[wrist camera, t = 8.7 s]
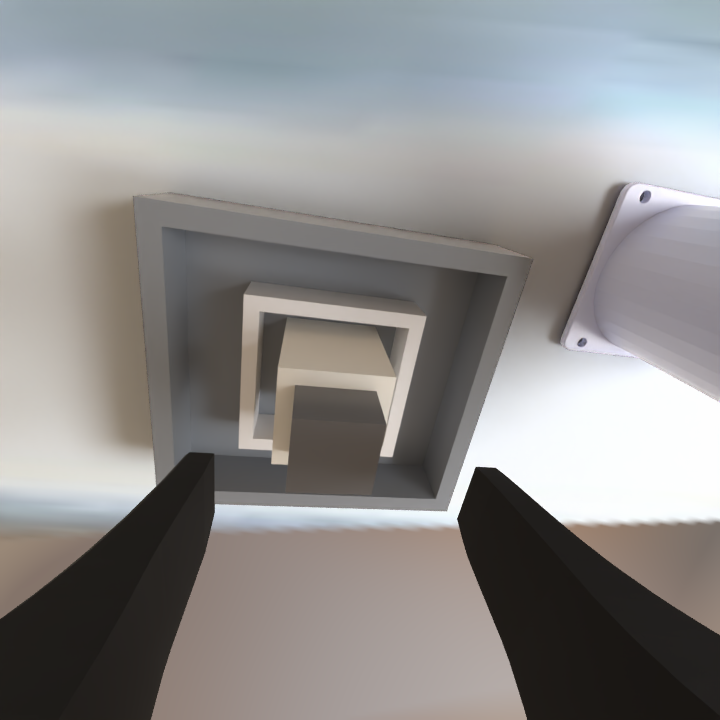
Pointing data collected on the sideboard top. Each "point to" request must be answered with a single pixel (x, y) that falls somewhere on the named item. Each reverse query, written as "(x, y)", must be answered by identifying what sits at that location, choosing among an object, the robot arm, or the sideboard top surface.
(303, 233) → the walled box
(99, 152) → the sideboard top surface
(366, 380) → the connector
